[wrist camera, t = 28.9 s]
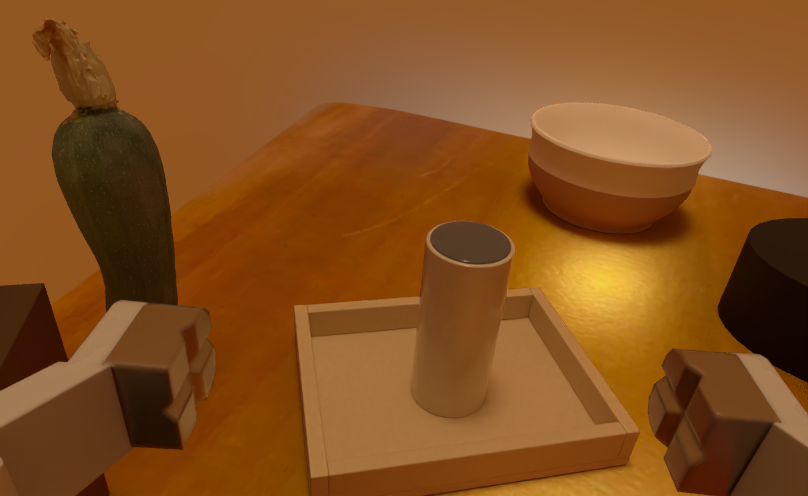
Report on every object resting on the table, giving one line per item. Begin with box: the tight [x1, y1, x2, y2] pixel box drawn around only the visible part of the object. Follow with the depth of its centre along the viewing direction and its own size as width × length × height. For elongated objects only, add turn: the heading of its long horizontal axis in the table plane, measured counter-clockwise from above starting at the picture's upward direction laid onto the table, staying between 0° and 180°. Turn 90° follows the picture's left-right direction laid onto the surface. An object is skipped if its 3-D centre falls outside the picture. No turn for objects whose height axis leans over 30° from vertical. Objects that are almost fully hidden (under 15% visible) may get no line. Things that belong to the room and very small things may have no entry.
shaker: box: [411, 221, 515, 418], centre depth 31 cm, size 4×4×10 cm
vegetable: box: [32, 17, 178, 313], centre depth 28 cm, size 4×4×20 cm
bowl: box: [528, 102, 712, 234], centre depth 55 cm, size 16×16×8 cm
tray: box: [294, 287, 640, 496], centre depth 33 cm, size 17×13×3 cm
